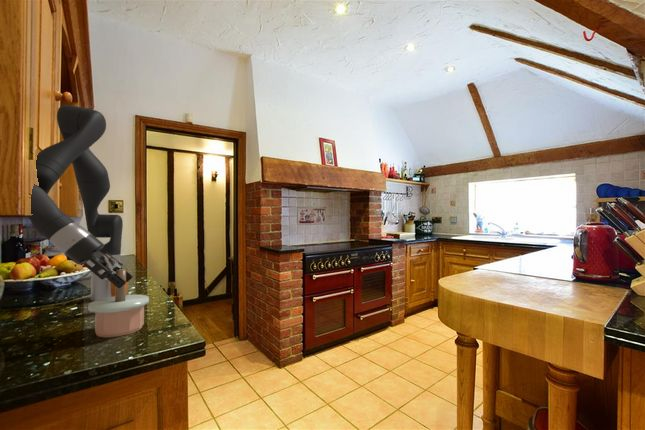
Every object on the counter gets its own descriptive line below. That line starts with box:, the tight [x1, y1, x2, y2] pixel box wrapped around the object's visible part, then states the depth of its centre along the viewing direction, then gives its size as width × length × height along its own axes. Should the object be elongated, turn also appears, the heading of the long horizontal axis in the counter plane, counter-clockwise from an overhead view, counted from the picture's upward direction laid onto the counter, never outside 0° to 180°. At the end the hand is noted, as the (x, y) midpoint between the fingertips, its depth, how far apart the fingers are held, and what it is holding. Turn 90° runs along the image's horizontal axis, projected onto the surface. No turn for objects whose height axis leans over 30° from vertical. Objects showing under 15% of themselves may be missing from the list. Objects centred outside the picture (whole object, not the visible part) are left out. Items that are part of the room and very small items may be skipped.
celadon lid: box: [87, 268, 150, 313], centre depth 81 cm, size 14×14×10 cm
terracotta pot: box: [94, 305, 145, 338], centre depth 81 cm, size 11×11×7 cm
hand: (126, 282), depth 82 cm, fingers open, 8 cm apart
